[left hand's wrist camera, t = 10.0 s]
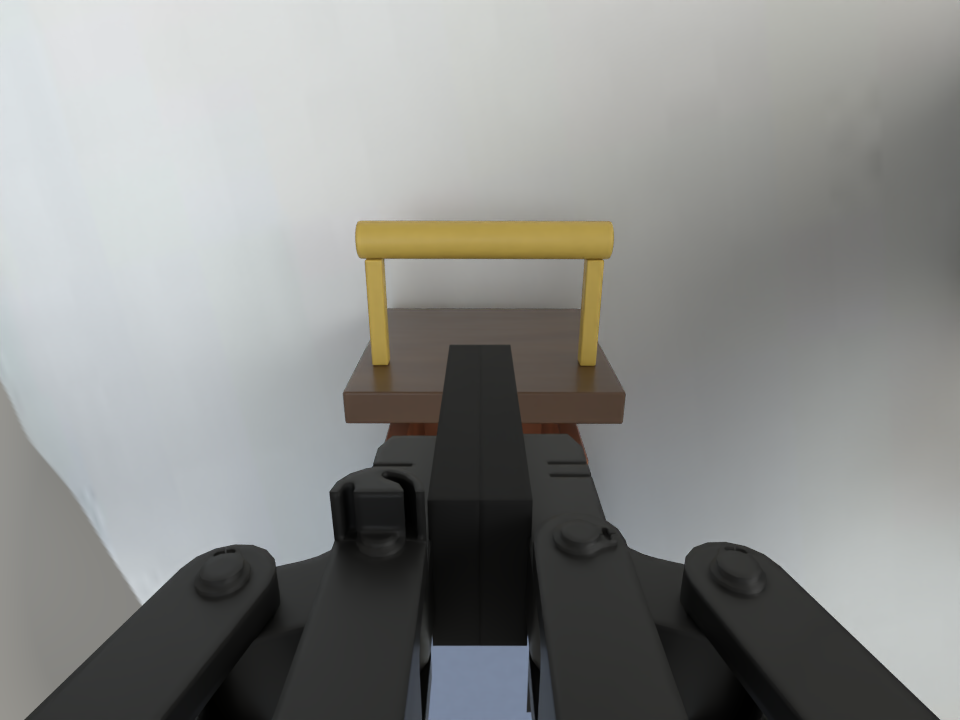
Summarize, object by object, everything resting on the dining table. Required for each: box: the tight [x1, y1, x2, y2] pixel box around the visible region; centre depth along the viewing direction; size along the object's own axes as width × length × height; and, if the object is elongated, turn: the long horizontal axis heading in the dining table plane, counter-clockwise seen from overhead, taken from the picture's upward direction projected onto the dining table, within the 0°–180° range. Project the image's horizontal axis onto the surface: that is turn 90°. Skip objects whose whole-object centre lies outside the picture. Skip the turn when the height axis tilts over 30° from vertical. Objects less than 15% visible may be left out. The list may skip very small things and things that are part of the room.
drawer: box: [343, 221, 626, 465], centre depth 26 cm, size 22×10×10 cm, turn 0°
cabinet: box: [428, 638, 532, 720], centre depth 31 cm, size 18×11×12 cm, turn 0°
